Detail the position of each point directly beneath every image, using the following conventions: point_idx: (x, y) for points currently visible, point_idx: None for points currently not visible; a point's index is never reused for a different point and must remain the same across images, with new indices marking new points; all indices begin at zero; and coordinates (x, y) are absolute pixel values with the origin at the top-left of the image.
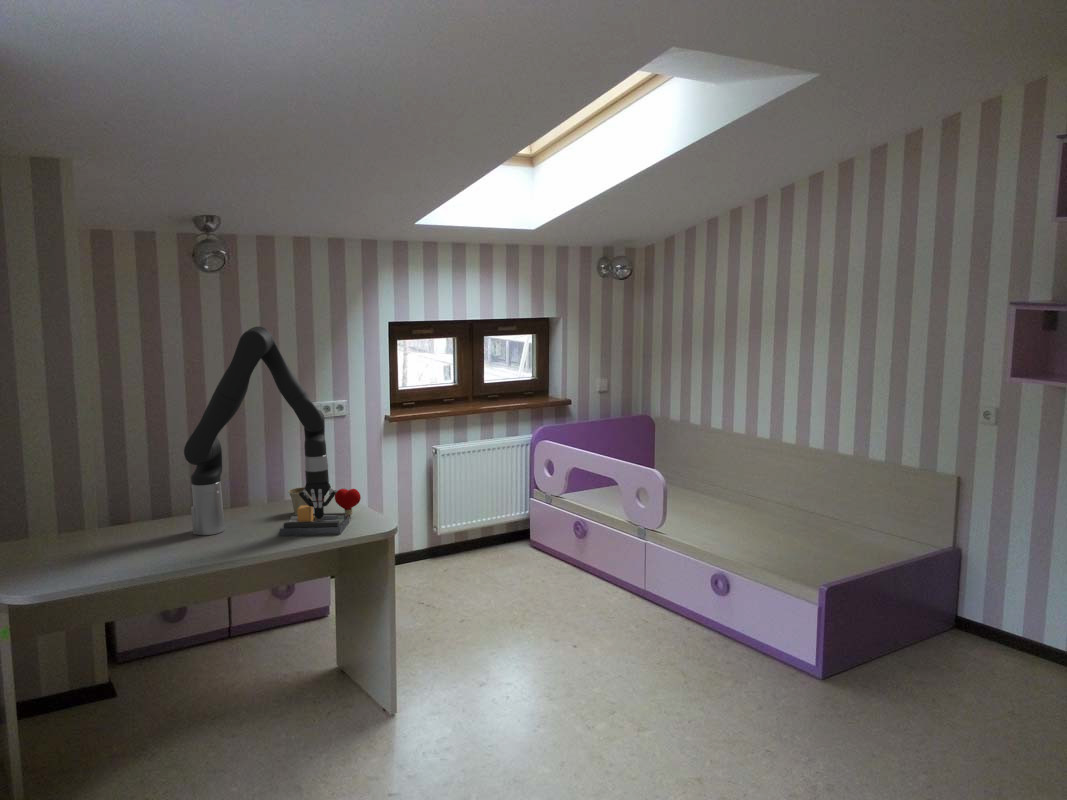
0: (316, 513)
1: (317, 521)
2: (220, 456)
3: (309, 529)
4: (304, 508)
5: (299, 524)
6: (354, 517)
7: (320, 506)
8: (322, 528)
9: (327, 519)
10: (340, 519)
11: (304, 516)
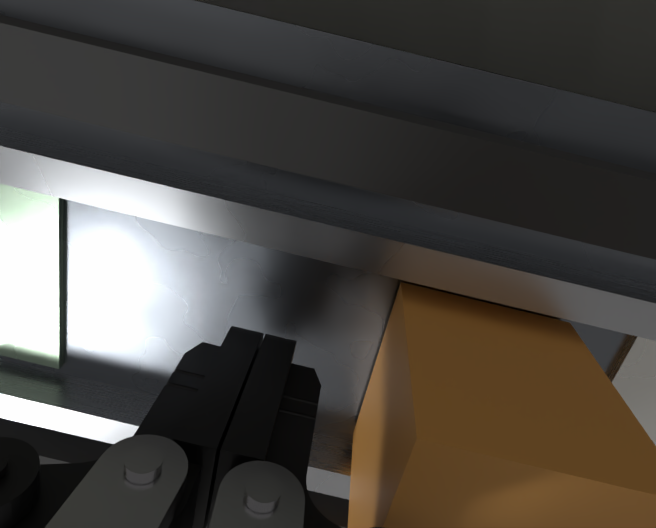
0: (279, 386)
1: (277, 209)
2: None
3: (412, 53)
4: (518, 505)
5: (584, 163)
6: None
7: (139, 457)
8: (202, 2)
9: None
10: (5, 326)
11: (495, 359)
